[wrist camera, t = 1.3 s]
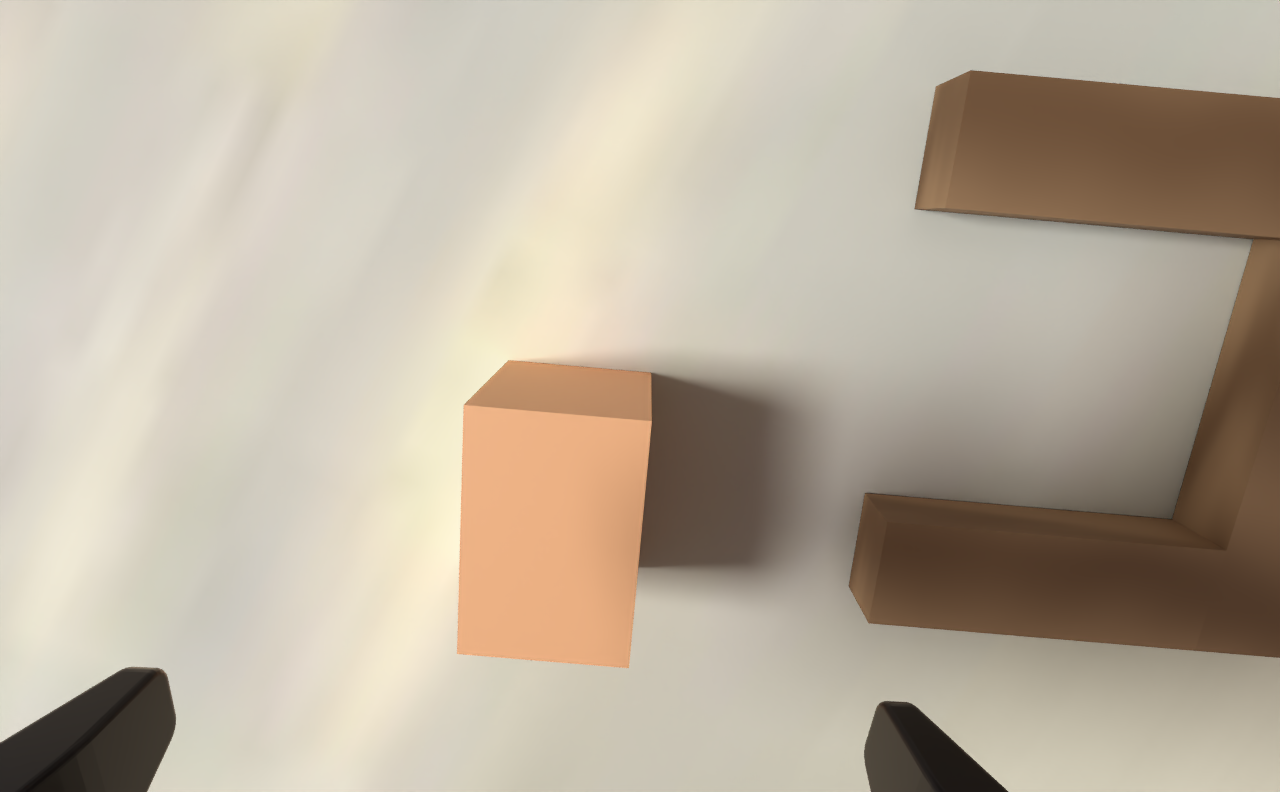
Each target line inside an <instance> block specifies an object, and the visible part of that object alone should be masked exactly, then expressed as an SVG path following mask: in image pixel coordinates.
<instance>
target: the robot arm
mask: <svg viewBox="0 0 1280 792" xmlns="http://www.w3.org/2000/svg"><path fill="white" fill-rule="evenodd" d="M175 725H176V714H175V709H174V705H173V700H172V695H171V691H170V686H169V681H168V677H167V674H166V673H165V672H164V671H163V670H162V669H159V668H146V667H128V668H125V669H122V670H120V671H118V672H116V673H115V674H113V675H112V676H110V677H108V678H107V679H105V680H103V681H102V682H100V683H98V684H97V685H95V686H93V687H92V688H90V689H88V690H87V691H85V692H83V693H82V694H80V695H78V696H77V697H75V698H73V699H72V700H70V701H68V702H67V703H65V704H63V705H62V706H60V707H59V708H57V709H55V710H54V711H52V712H50V713H49V714H47V715H45V716H44V717H42V718H40V719H39V720H37V721H35V722H34V723H32V724H30V725H29V726H27V727H25V728H24V729H22V730H20V731H19V732H17V733H15V734H14V735H12V736H10V737H9V738H7V739H6V740H4V741H2V742H1V743H0V792H147V791H148V789H149V786H150V784H151V782H152V780H153V778H154V776H155V774H156V771H157V769H158V767H159V765H160V763H161V761H162V759H163V756H164V754H165V752H166V750H167V748H168V746H169V744H170V741H171V739H172V737H173V734H174V730H175ZM864 759H865V766H866V771H867V775H868V780H869V785H870V789H871V792H1008V791H1007V790H1006V789H1005V788H1004V787H1003V786H1002V785H1001V784H999V783H998V782H997V781H996V780H995V779H994V778H993V777H992V776H991V775H990V774H989V773H988V772H986V771H985V770H984V769H983V768H982V767H981V766H980V765H979V764H978V763H977V762H976V761H975V760H973V759H972V758H971V757H970V756H969V755H968V754H967V753H966V752H965V751H964V750H963V749H962V748H960V747H959V746H958V745H957V744H956V743H955V742H954V741H953V740H952V739H951V738H950V737H949V736H947V735H946V734H945V733H944V732H943V731H942V730H941V729H940V728H939V727H938V726H937V725H936V724H934V723H933V722H932V721H931V720H930V719H929V718H928V717H927V716H926V715H925V714H924V713H922V712H921V711H920V710H919V709H918V708H917V707H916V706H914V705H913V704H911V703H908V702H891V701H884V702H881V703H880V704H879V705H878V706H877V708H876V711H875V714H874V717H873V721H872V724H871V727H870V730H869V734H868V737H867V740H866V744H865V750H864Z"/></svg>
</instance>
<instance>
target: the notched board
mask: <svg viewBox="0 0 1280 792" xmlns="http://www.w3.org/2000/svg"><path fill="white" fill-rule="evenodd" d="M915 209H919V210H931V211H942V212H953V213H964V214H976V215H987V216H998V217H1009V218H1021V219H1032V220H1043V221H1054V222H1066V223H1077V224H1088V225H1100V226H1111V227H1122V228H1133V229H1145V230H1156V231H1167V232H1178V233H1190V234H1201V235H1212V236H1224V237H1235V238H1246V239H1254V240H1253V243H1252V246H1251V250H1250V253H1249V257H1248V260H1247V264H1246V267H1245V270H1244V274H1243V277H1242V281H1241V284H1240V288H1239V291H1238V295H1237V298H1236V301H1235V305H1234V308H1233V312H1232V315H1231V319H1230V322H1229V325H1228V329H1227V332H1226V336H1225V339H1224V343H1223V346H1222V349H1221V353H1220V356H1219V360H1218V363H1217V367H1216V370H1215V374H1214V377H1213V380H1212V384H1211V387H1210V391H1209V394H1208V398H1207V401H1206V404H1205V408H1204V411H1203V415H1202V418H1201V422H1200V425H1199V428H1198V432H1197V435H1196V439H1195V442H1194V446H1193V449H1192V453H1191V456H1190V459H1189V463H1188V466H1187V470H1186V473H1185V477H1184V480H1183V483H1182V487H1181V490H1180V494H1179V497H1178V501H1177V504H1176V507H1175V511H1174V514H1173V518H1172V519H1162V518H1150V517H1138V516H1126V515H1115V514H1103V513H1091V512H1080V511H1068V510H1056V509H1045V508H1033V507H1021V506H1009V505H998V504H986V503H974V502H963V501H951V500H939V499H928V498H916V497H904V496H892V495H881V494H869V493H865V496H864V502H863V507H862V513H861V519H860V524H859V530H858V536H857V542H856V547H855V553H854V559H853V565H852V570H851V576H850V582H849V588H850V590H851V591H852V593H853V595H854V597H855V599H856V601H857V602H858V604H859V606H860V608H861V610H862V612H863V614H864V615H865V617H866V619H867V621H868V623H873V624H884V625H896V626H908V627H920V628H932V629H944V630H956V631H968V632H980V633H992V634H1003V635H1015V636H1027V637H1039V638H1051V639H1063V640H1075V641H1087V642H1099V643H1111V644H1123V645H1134V646H1146V647H1158V648H1170V649H1182V650H1194V651H1206V652H1218V653H1230V654H1242V655H1254V656H1265V657H1277V658H1280V98H1271V97H1260V96H1249V95H1238V94H1226V93H1215V92H1204V91H1193V90H1182V89H1171V88H1160V87H1149V86H1138V85H1127V84H1116V83H1105V82H1094V81H1083V80H1072V79H1061V78H1049V77H1038V76H1027V75H1016V74H1005V73H994V72H983V71H972V70H971V71H969V72H966V73H964V74H962V75H960V76H958V77H956V78H953V79H951V80H949V81H947V82H945V83H943V84H940V85H938V86H936V90H935V95H934V101H933V107H932V112H931V118H930V124H929V130H928V135H927V141H926V147H925V152H924V158H923V164H922V170H921V175H920V181H919V187H918V193H917V198H916V204H915Z"/></svg>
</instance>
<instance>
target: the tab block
mask: <svg viewBox="0 0 1280 792" xmlns="http://www.w3.org/2000/svg"><path fill="white" fill-rule="evenodd" d="M651 425H652V398H651V373H648V372H636V371H625V370H613V369H602V368H590V367H579V366H567V365H556V364H544V363H533V362H521V361H510V360H508V361H507V362H506V363H505V364H504V365H503V366H502V367H501V368H500V369H499V370H498V371H497V372H496V373H495V374H494V375H493V376H492V377H491V378H490V379H489V380H488V381H487V382H486V383H485V384H484V385H483V386H482V387H481V388H480V389H479V390H478V391H477V392H476V393H475V394H474V395H473V396H472V397H471V398H470V399H469V400H468V401H467V402H466V403H465V404H464V416H463V453H462V491H461V529H460V567H459V605H458V642H457V654H465V655H477V656H489V657H501V658H513V659H525V660H538V661H550V662H562V663H574V664H586V665H598V666H610V667H622V668H629V660H630V649H631V638H632V628H633V617H634V606H635V596H636V585H637V574H638V564H639V553H640V542H641V532H642V521H643V510H644V500H645V489H646V478H647V468H648V457H649V446H650V436H651Z"/></svg>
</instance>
